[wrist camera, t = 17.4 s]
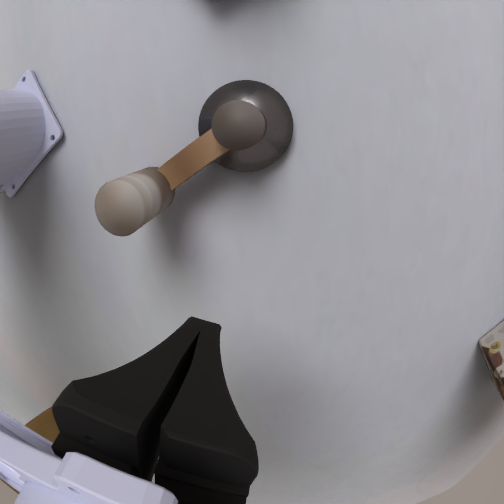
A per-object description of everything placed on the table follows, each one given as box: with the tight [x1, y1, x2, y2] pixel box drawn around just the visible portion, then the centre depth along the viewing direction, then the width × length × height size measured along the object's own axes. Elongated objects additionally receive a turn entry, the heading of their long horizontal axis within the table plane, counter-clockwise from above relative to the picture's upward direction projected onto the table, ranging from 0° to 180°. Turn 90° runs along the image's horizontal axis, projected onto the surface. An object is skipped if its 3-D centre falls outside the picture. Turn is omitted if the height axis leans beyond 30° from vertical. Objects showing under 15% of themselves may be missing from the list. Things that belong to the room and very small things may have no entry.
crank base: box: [198, 80, 293, 172], centre depth 19 cm, size 6×6×1 cm
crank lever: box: [95, 100, 267, 236], centre depth 17 cm, size 10×3×6 cm, turn 124°
